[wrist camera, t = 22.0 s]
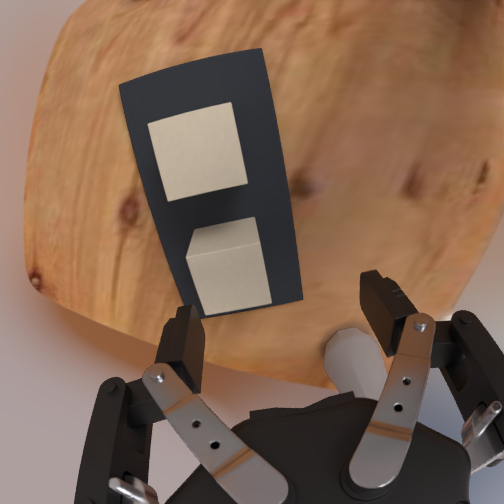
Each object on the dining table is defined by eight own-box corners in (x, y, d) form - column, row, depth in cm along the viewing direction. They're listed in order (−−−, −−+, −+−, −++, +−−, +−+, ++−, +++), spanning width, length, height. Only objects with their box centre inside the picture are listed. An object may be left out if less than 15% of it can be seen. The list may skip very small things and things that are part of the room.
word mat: (120, 85, 16) (118, 84, 16) (261, 49, 16) (261, 47, 15) (190, 317, 25) (190, 320, 25) (302, 297, 25) (303, 299, 24)
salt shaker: (307, 352, 28) (338, 465, 16) (342, 313, 26) (396, 428, 14) (346, 365, 29) (383, 463, 18) (380, 330, 27) (433, 429, 16)
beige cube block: (192, 229, 21) (183, 257, 17) (254, 216, 21) (260, 242, 17) (208, 280, 23) (204, 316, 19) (265, 269, 23) (272, 303, 19)
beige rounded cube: (164, 122, 17) (145, 124, 13) (231, 106, 17) (231, 101, 13) (179, 184, 19) (165, 202, 15) (244, 169, 19) (248, 183, 15)
